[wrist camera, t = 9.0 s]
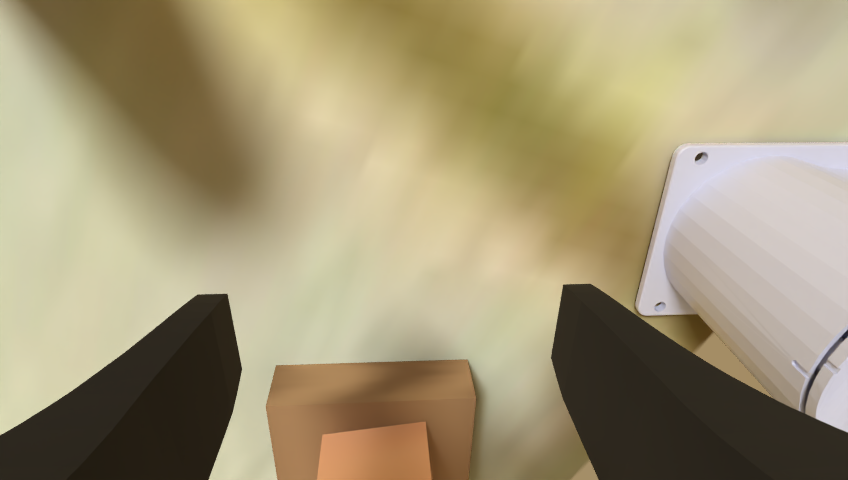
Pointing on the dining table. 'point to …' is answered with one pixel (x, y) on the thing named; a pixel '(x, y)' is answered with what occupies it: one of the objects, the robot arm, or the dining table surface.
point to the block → (371, 410)
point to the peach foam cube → (377, 454)
